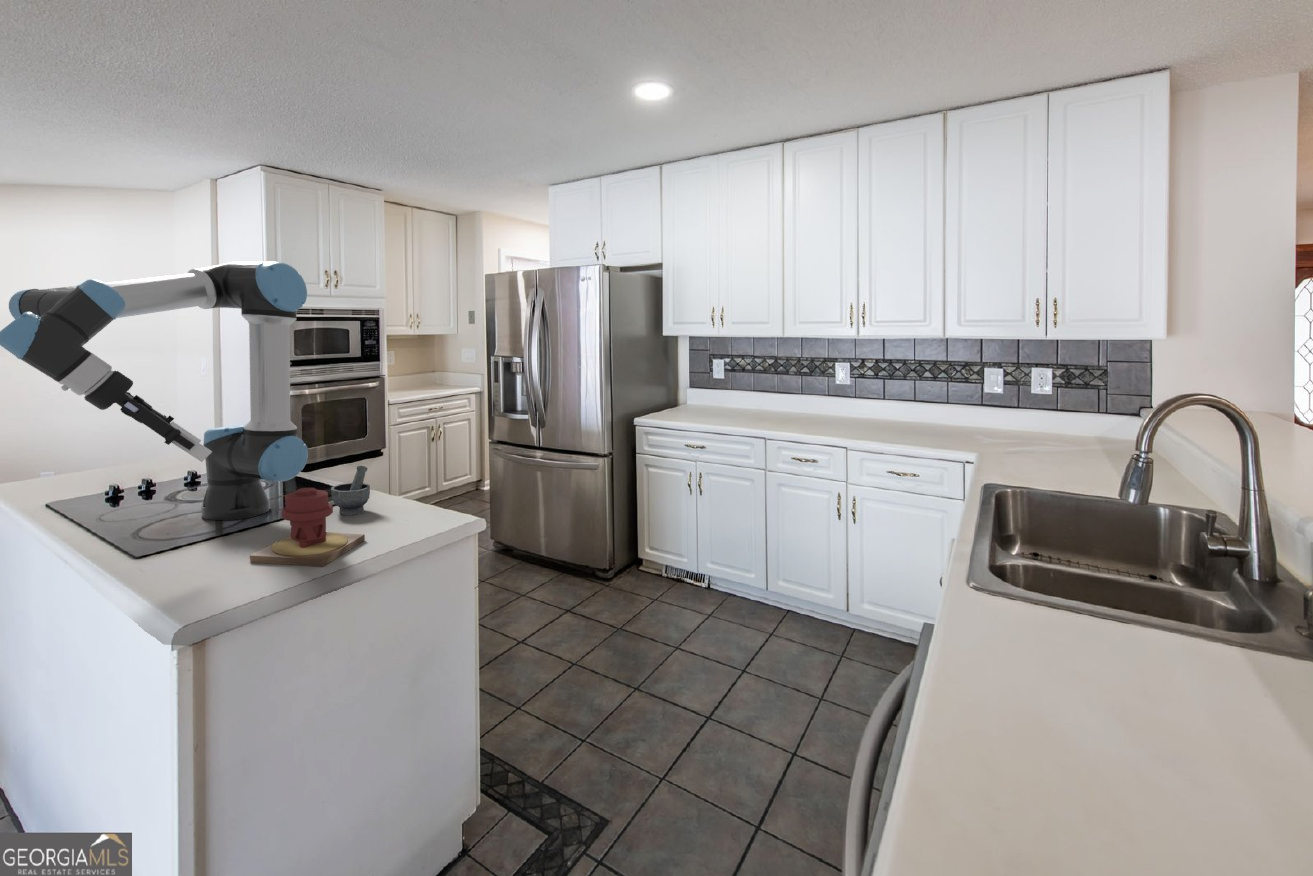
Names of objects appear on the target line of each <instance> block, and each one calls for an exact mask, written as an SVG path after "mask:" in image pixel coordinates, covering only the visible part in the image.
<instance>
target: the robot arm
mask: <svg viewBox="0 0 1313 876" xmlns="http://www.w3.org/2000/svg"><path fill="white" fill-rule="evenodd" d="M307 298H308V290H307V284H306V282H305V280H304V278H303V277H302V275H301V274H300V273H299V272H298V270H297V269H296V268H294V267H293V266H291V265H290V264H287V263H284V262H281V261H280V262H279V261H272V260H265V261H263V260H262V261H261V260H260V261H259V260H258V261H231V262H226V263H221V264H217V265H211V266H206V267H200V268H198V267H197V268H192V269H189V270H188V271H187V273H184V274H176V275H164V276H156V277H155V276H154V277H145V278H138V279H137V278H135V279H128V280H119V281H118V280H117V281H109V282H103V281H101V280H98V279H93V278H91V279H87V280H85V281H84V282H82V283H80V284H78V285H74V286H67V287H66V286H64V287H53V288H43V289H39V288H30V289H23V290H20V291H17V292H16V293H14V294H13V295H12V296H11V297H10V299H9V300H8V301H9V302H8V310H9V313H10V315H11V316H12V318H13V319H14V320H13V321H11V322H10V323H9V324H7V325H6V326H4V328H2V329H1V330H0V346H1V348H4V349H5V350H6V351H7V352H9V353H11V354H12V355H13V356H14V357H16V359H18V360H21V361H23V362H24V363H26V364H28V366H31V367H32V368H34V369H36V370H37V371H40V372H41V374H42V373H43V374H44V375H45V376H47V377H49V378H50V379H52V380H53V381H55V382H57V383H58V384H60V385H62V386H61V387H60V388H61V390H62V391H63V392H64V391H65V392H66V391H68V390H69V389H70V391H71V392H72V393H73V394H75V395H77V396H83V395H84V400H85V401H87V402H88V403H89V404H91V405H92V406H94V407H96V408H97V409H98V410H101V411H104V410H107V409H109V408H110V407H111V406H113V404H117V405H118V406H119V407H121V408H120V409H119V410H120V411H121V412H120V413H122V414H124V415H126V416H127V417H130V418H132V419H133V420H135V421H136V422H137V423H139V424H143V425H145V426H146V427H148V428H149V429H150V430H152V431H153V432H154V433H156V434H158V435H159V436H161V437H162V438H164V442H163V443H164V444H166V445H168V446H169V445H170V444H173V445H174V446H176V447H178V448H179V449H181V450H182V451H184V452H185V453H187V454H189V455H190V456H192V457H193V458H195V459H197V460H198V461H199V462H201V463H203V462H204V461H205V470H206V481H207V482H206V483H207V486H206V491H205V494H204V497H203V501H202V503H201V504H202V505H201V507H200V508H201V509H200V510H201V517H202V518H204V519H206V520H212V521H230V520H229V519H234V520H240V519H241V518H243V519H248V517H249V518H252V517H257V516H259V515H260V514H261V515H263V514H266V513H267V512H269V511H270V510H269V509H271V503H270V502H271V501H270V498H268V495H267V492H266V490H265V487H264V486H263V483H262V480H264V481H266V482H267V481H268V482H286V481H289V480H291V479H294V478H295V477H297V476H298V475H299V474H300V472H301V471H303V469H304V468H305V466H306V464H307V461H308V459H309V458H308V456H309V452H308V451H309V450H308V446H307V444H306V443H304V440H303V439H301V438H300V437H298V426H297V425H295V424H294V423H293V421H291V355H290V354H291V353H290V352H291V347H290V346H291V345H290V344H291V339H290V338H291V334H290V332H291V331H290V329H291V328H290V326H291V325H292V324H294V322H296V321H297V311H298V310H300V309H302V307H303V305H305V303H306V302H307ZM194 307H199V308H200V309H204V310H211V309H217V308H219V309H220V308H222V309H223V308H225V309H227V308H228V309H240V311H241V312H240V315H241V317H242V318H243V319H244V320H245V321H247V323H248V329H249V332H248V335H249V339H248V341H249V386H250V387H249V392H250V393H249V394H250V395H249V396H250V397H249V399H250V401H249V403H250V406H249V408H250V410H249V411H250V421H249V422H248V423H246V424H241V425H240V424H239V425H229V426H221V427H214V428H209V429H207V430H206V431H204V433H203V443H201V442H202V440H201V438H199V437H197V436H196V435H194V434H192V432H190V431H188V430H187V429H185V428H184V427H182V426H181V425H179V424H178V423H176V422H174V421H173V420H175V418H174V417H173V416H171V415H169V416H166V415H165V414H162V413H161V412H159V411H157V410H156V409H154V408H153V406H152V405H150V404H149V403H148V402H146V401H145V400H144V398H142V397H140V396H139V395H137V394H136V395H135V396H134V395H132V394H131V392H128V391H130V389H131V388H132V387H133V386H134V381H133V380H132V379H130V378H129V377H128V376H126V375H124V374H123V373H121V372H120V371H118V370H113V367H112V365H110V363H107V362H106V361H105V360H103V359H101V358H100V357H99V356H97V355H96V354H94V353H93V352H91V351H89V350H88V349H86V348H85V347H84V346H85V345H86V344H87V343H88V342H89V341H90V340H91V339H93V338H94V337H96V335H97V334H98V333H100V332H101V331H102V330H103V329H104V328H105V327H107V326H108V325H109V324H110V323H112V322H113V321H114V320H116V319H121V318H126V317H127V318H129V317H134V316H140V315H147V314H153V313H159V312H160V313H161V312H167V311H168V312H169V311H175V310H180V309H187V308H194ZM262 513H263V514H262ZM261 515H260V516H261ZM241 520H242V519H241Z"/></svg>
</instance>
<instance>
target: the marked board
mask: <svg viewBox="0 0 1313 876" xmlns="http://www.w3.org/2000/svg"><path fill="white" fill-rule="evenodd" d="M326 533H327V534H326V541H325V542H322V543H317V544H313V545H310V546H308V547H306V548H301V547H300V542H299V541H295V540H292V539H291V534H290V535H287V536H285V537H283V538H281V539H276V540H275V541H273V543H271V544H269V545H268V546H266V547H264V548H262V549H259V550H258V551H256V552H254V553H251V554H250V555H249V561H250V562H249V563H257V564H259V563H260V564H276V565H289V564H293V566H304V565H305V566H309V567H326V564H327V565H328V564H330V563H331V562H332V561H334V560H336V559H338V558H339V557H340V556H342V555H344V554H346V553H347V552H348V550H349V551H350V550H352V549H354V548H355V547H357V546H358V545H360V544H362V543H363V542H365V541H364V540H366V538H365V534H364V533H363V534H362V533H346V532H345V533H344V532H333V531H331V532H329V531H326ZM362 541H363V542H362ZM361 542H362V543H361ZM356 545H357V546H356ZM354 546H355V547H354ZM353 547H354V548H353Z"/></svg>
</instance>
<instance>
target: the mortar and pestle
mask: <svg viewBox="0 0 1313 876" xmlns="http://www.w3.org/2000/svg"><path fill="white" fill-rule="evenodd" d="M366 472H368V467H367V466H364V465H357V466H356V472H355V475H354V478H353V481H352V482H347V483H342V484H341V483H340V484H337V485H332V486H331V487H330V495H331V499H332V501H333V503H334V504H335V505H336V506H337V507H338V508H339V510H338V511H339V514H340V515H343V516H344V515H345V516H353V515H359V514H362V513H364V512H365V511H364V510H365V509H364V506H365V504H367V503H368V501H369V499H370V496H371V494H370V492H371V485H370V484H367V483H364V480H365V476H366Z"/></svg>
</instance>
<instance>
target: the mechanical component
mask: <svg viewBox="0 0 1313 876" xmlns="http://www.w3.org/2000/svg"><path fill="white" fill-rule="evenodd" d="M284 501H285V502H284V505H285V507H283V508H282V509H281V511H280V512H281V513H280V514H281V518H282V519H284V520H286V521H289V525H290V535H291V539H292V540H295V541H299V542H300V547H301V548H306V547H308V546H310V545H313V544H317V543H322V542H325V541H326V534H327V533H326V532H327V518H328V517H330V516H331V515H332V514H333V513H334V507H333V506H334V505H332V504H331V503H329V492H328V491H326V490H322V489H316V488H315V487H302V488H298V489H297V490H295V491H291V492H290V493H288V494H286V495H285V496H284Z"/></svg>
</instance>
